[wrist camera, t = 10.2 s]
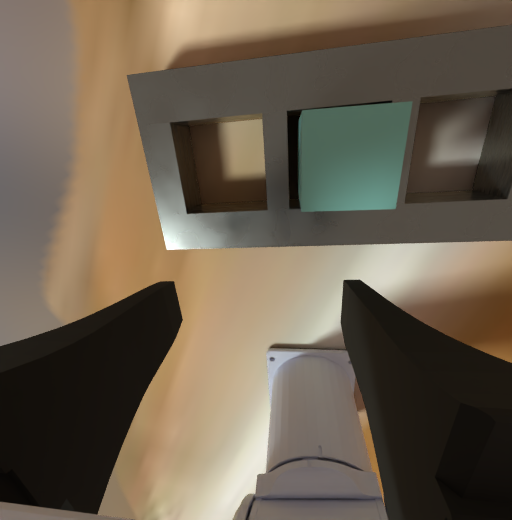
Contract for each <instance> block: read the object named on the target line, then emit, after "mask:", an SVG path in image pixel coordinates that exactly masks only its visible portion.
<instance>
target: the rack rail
mask: <svg viewBox="0 0 512 520" xmlns="http://www.w3.org/2000/svg"><path fill="white" fill-rule="evenodd" d="M127 78H128V83H129V87H130V91H131V96H132V100H133V104H134V109H135V113H136V117H137V122H138V126H139V131H140V135H141V139H142V144H143V148H144V152H145V157H146V161H147V165H148V170H149V174H150V179H151V183H152V187H153V192H154V196H155V200H156V205H157V209H158V214H159V218H160V222H161V227H162V231H163V235H164V240H165V244H166V248H167V250H173V249H210V248H248V247H286V246H323V245H361V244H399V243H437V242H474V241H512V25H507V26H499V27H491V28H484V29H476V30H468V31H461V32H453V33H445V34H438V35H430V36H422V37H415V38H407V39H399V40H392V41H384V42H377V43H369V44H361V45H354V46H346V47H338V48H331V49H323V50H315V51H308V52H300V53H292V54H285V55H277V56H269V57H262V58H254V59H246V60H239V61H231V62H223V63H216V64H208V65H200V66H193V67H185V68H177V69H170V70H162V71H155V72H147V73H139V74H132V75H127ZM491 96H496V98H495V102H494V106H493V110H492V114H491V118H490V122H489V126H488V130H487V134H486V138H485V142H484V146H483V149H482V153H481V157H480V161H479V165H478V169H477V173H476V177H475V181H474V185H473V189H472V190H464V191H445V192H426V193H406V190H407V184H408V177H409V171H410V164H411V158H412V151H413V145H414V138H415V132H416V125H417V119H418V112H419V106H420V103H430V102H440V101H450V100H460V99H471V98H481V97H491ZM409 101H413V102H412V109H411V115H410V121H409V128H408V134H407V140H406V147H405V153H404V159H403V166H402V172H401V178H400V184H399V191H398V197H397V203H396V209H381V210H348V211H314V212H301V207H300V201H299V199H291V200H289V160H288V117H287V116H296V115H301V113H302V110H311V109H323V108H336V107H348V106H360V105H373V104H385V103H397V102H409ZM254 119H263V136H264V154H265V171H266V189H267V201H252V202H233V203H213V204H201V199H200V192H199V186H198V180H197V173H196V167H195V161H194V155H193V148H192V142H191V136H190V130H189V126H192V125H203V124H213V123H223V122H234V121H244V120H254Z"/></svg>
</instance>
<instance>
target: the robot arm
mask: <svg viewBox="0 0 512 520" xmlns="http://www.w3.org/2000/svg"><path fill="white" fill-rule="evenodd" d="M182 320H183V319H182V315H181V310H180V306H179V301H178V297H177V293H176V288H175V284H174V281H164V282H158V283H156V284H153V285H151V286H149V287H147V288H145V289H143V290H141V291H139V292H137V293H135V294H133V295H131V296H129V297H127V298H125V299H123V300H121V301H119V302H117V303H115V304H113V305H111V306H108V307H106V308H104V309H102V310H100V311H98V312H96V313H94V314H92V315H89V316H87V317H85V318H82V319H80V320H77V321H75V322H72V323H70V324H67V325H65V326H62V327H60V328H57V329H54V330H51V331H48V332H45V333H42V334H39V335H36V336H33V337H30V338H27V339H24V340H20V341H17V342H13V343H10V344H7V345H3V346H0V520H133V519H126V518H118V517H111V516H104V515H97V514H98V511H99V507H100V505H101V502H102V499H103V496H104V493H105V490H106V487H107V484H108V482H109V479H110V476H111V474H112V471H113V468H114V466H115V463H116V460H117V458H118V455H119V452H120V450H121V447H122V445H123V442H124V440H125V437H126V435H127V433H128V430H129V428H130V425H131V423H132V420H133V418H134V416H135V414H136V411H137V409H138V407H139V405H140V402H141V400H142V398H143V396H144V394H145V392H146V390H147V388H148V386H149V384H150V383H151V381H152V379H153V377H154V376H155V374H156V372H157V370H158V369H159V367H160V365H161V363H162V362H163V360H164V358H165V357H166V355H167V353H168V351H169V349H170V348H171V346H172V344H173V342H174V340H175V338H176V336H177V334H178V331H179V328H180V326H181V323H182ZM341 326H342V332H343V337H344V342H345V346H346V349H347V350H317V349H282V348H270V349H268V350H267V367H268V380H269V393H270V406H271V411H270V425H269V438H268V451H267V465H266V473H265V474H258V475H257V484H256V494H248V495H247V496H245V498H244V499H243V501H242V502H241V505H240V507H239V508H238V510H237V511H236V513H235V515H234V518H233V520H512V363H510V362H507V361H505V360H502V359H500V358H497V357H494V356H492V355H489V354H487V353H485V352H482V351H480V350H478V349H475V348H473V347H471V346H469V345H466V344H464V343H462V342H460V341H457V340H455V339H453V338H451V337H449V336H447V335H445V334H443V333H441V332H439V331H438V330H436V329H434V328H432V327H430V326H428V325H426V324H424V323H423V322H421V321H419V320H418V319H416V318H414V317H413V316H411V315H409V314H408V313H406V312H405V311H403V310H402V309H400V308H399V307H397V306H395V305H394V304H393V303H391V302H390V301H388V300H387V299H385V298H384V297H383V296H381V295H380V294H379V293H377V292H376V291H375V290H373V289H372V288H370V287H369V286H368V285H366V284H365V283H364V282H362V281H361V280H344V282H343V296H342V311H341ZM271 357H274V358H271ZM349 360H350V361H349ZM355 378H356V379H357V382H358V385H359V388H360V391H361V394H362V397H363V401H364V404H365V408H366V412H367V416H368V421H369V425H370V430H371V434H372V439H373V443H374V448H375V453H376V457H377V462H378V467H379V472H380V477H381V482H382V487H383V492H384V494H383V495H384V503H385V506H384V503H383V499H382V495H381V491H380V487H379V483H378V479H377V476H376V473H375V472H373V471H372V467H371V463H370V459H369V455H368V451H367V447H366V443H365V439H364V435H363V431H362V427H361V423H360V419H359V415H358V411H357V407H356V403H355V399H354V387H355ZM385 508H386V509H385Z"/></svg>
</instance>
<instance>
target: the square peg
mask: <svg viewBox="0 0 512 520" xmlns="http://www.w3.org/2000/svg"><path fill="white" fill-rule="evenodd" d="M412 102H413V101H409V102H397V103H385V104H373V105H360V106H348V107H336V108H323V109H311V110H302V113H301V116H300V118H299V121H298V182H297V188H298V194H299V201H300V207H301V212H314V211H348V210H381V209H396V203H397V197H398V191H399V184H400V178H401V172H402V166H403V159H404V153H405V147H406V140H407V134H408V128H409V121H410V115H411V109H412Z"/></svg>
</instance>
